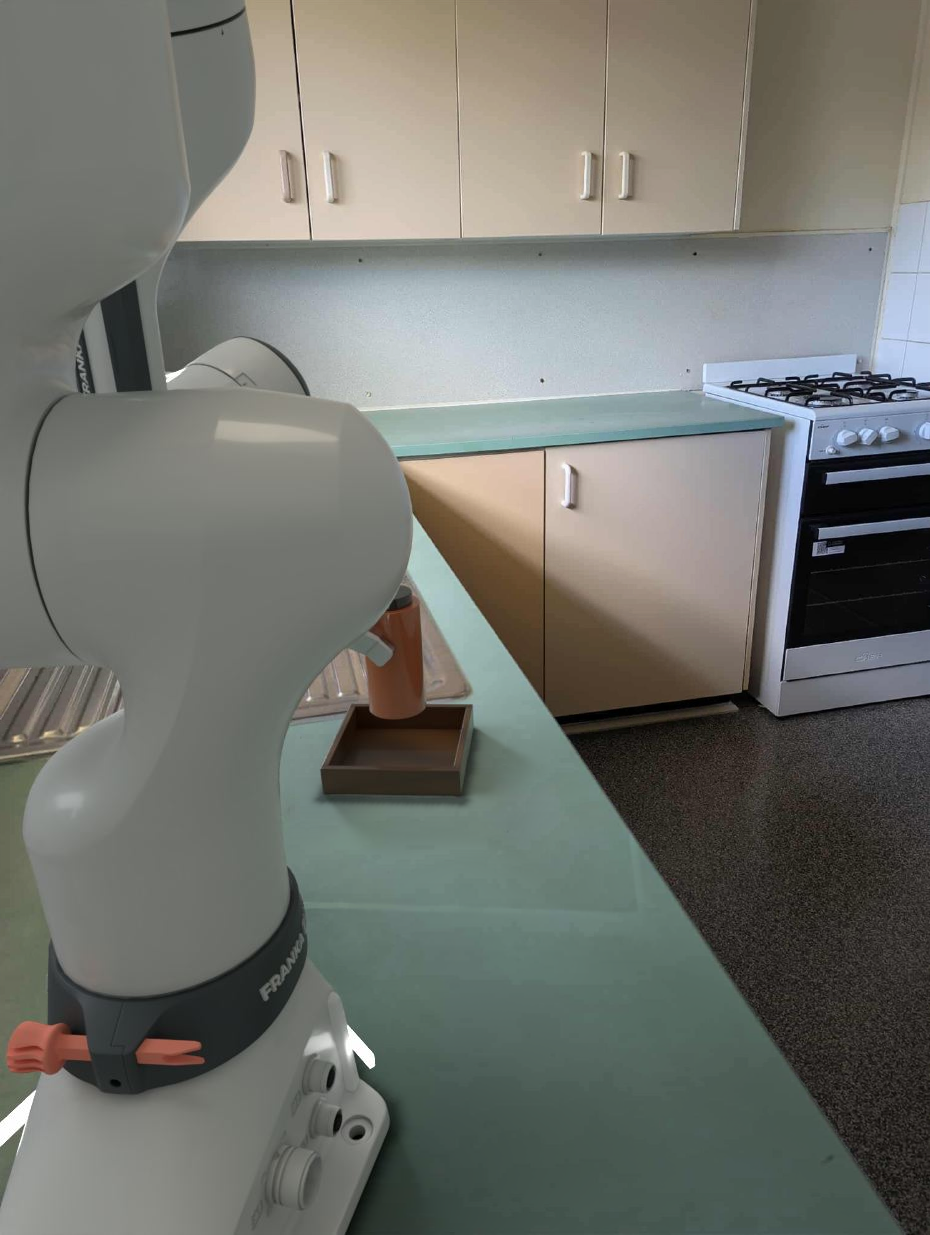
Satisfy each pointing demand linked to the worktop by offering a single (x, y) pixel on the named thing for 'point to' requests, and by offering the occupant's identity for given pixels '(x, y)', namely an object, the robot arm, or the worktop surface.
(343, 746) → the tray
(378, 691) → the spice jar
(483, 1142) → the worktop surface
